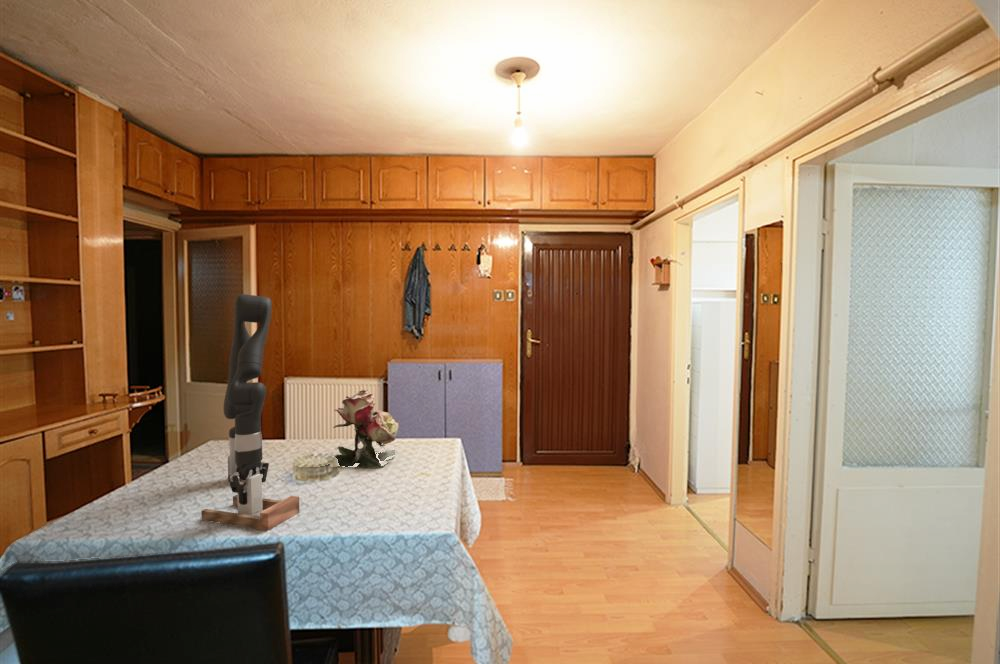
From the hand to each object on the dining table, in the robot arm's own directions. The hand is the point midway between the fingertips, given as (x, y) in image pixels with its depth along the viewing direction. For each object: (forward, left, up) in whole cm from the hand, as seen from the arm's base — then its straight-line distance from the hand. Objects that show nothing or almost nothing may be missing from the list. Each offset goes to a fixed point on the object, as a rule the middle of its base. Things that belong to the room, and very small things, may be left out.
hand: (249, 500), depth 144 cm
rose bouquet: (+3, +61, -5) cm, 62 cm away
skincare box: (0, 0, -4) cm, 4 cm away
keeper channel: (0, 0, -5) cm, 5 cm away
